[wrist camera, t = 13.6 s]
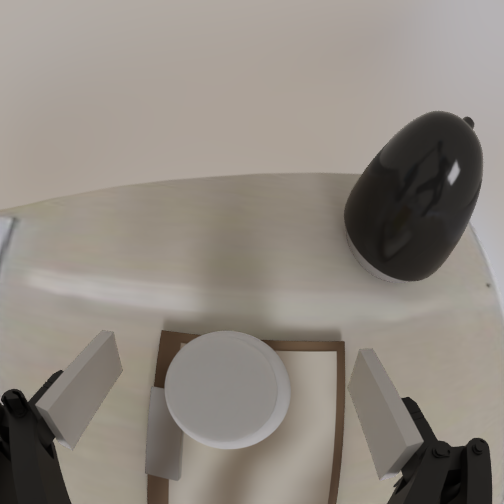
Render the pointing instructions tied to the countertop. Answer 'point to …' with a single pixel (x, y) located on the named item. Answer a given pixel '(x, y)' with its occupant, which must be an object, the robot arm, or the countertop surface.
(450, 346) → the countertop surface
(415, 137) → the pump dispenser
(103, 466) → the countertop surface
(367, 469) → the countertop surface
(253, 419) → the supplement bottle
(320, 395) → the clipboard
